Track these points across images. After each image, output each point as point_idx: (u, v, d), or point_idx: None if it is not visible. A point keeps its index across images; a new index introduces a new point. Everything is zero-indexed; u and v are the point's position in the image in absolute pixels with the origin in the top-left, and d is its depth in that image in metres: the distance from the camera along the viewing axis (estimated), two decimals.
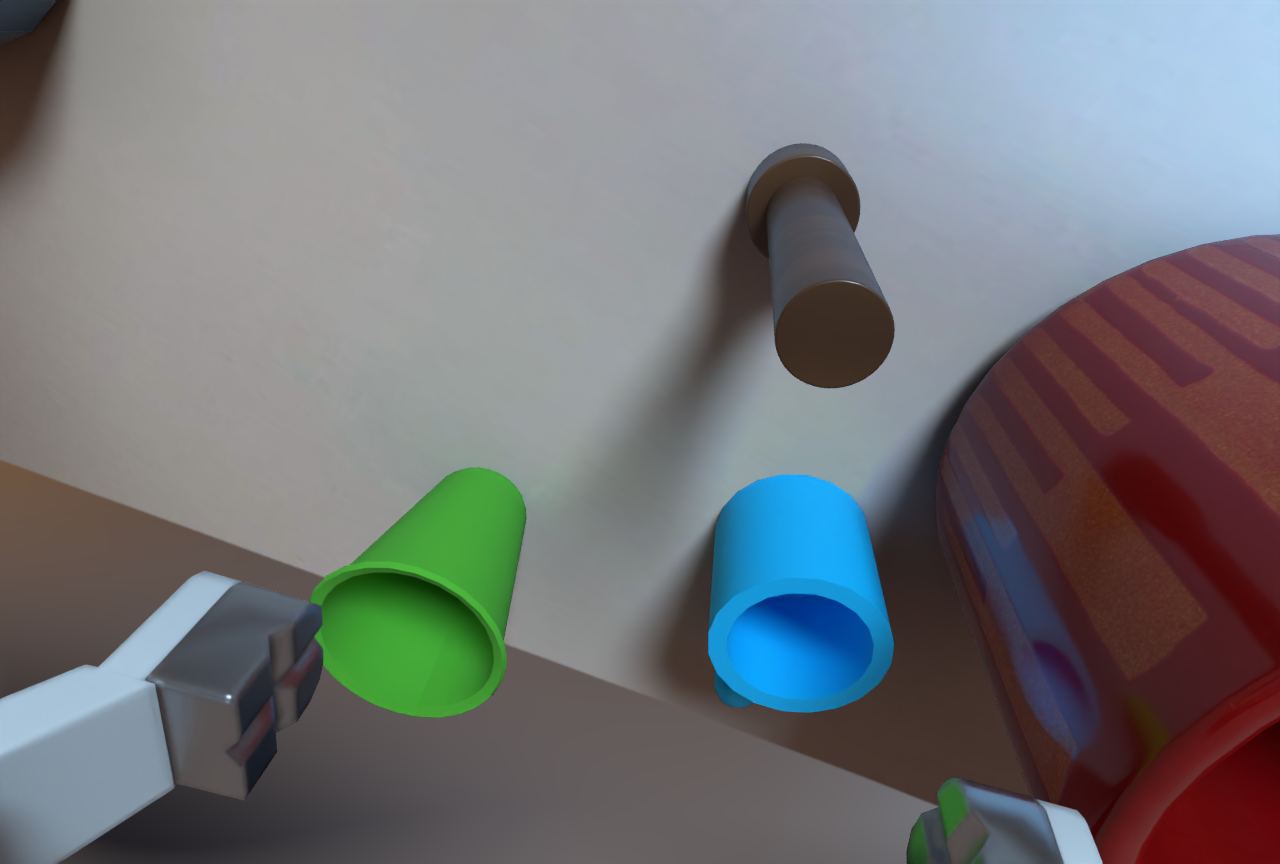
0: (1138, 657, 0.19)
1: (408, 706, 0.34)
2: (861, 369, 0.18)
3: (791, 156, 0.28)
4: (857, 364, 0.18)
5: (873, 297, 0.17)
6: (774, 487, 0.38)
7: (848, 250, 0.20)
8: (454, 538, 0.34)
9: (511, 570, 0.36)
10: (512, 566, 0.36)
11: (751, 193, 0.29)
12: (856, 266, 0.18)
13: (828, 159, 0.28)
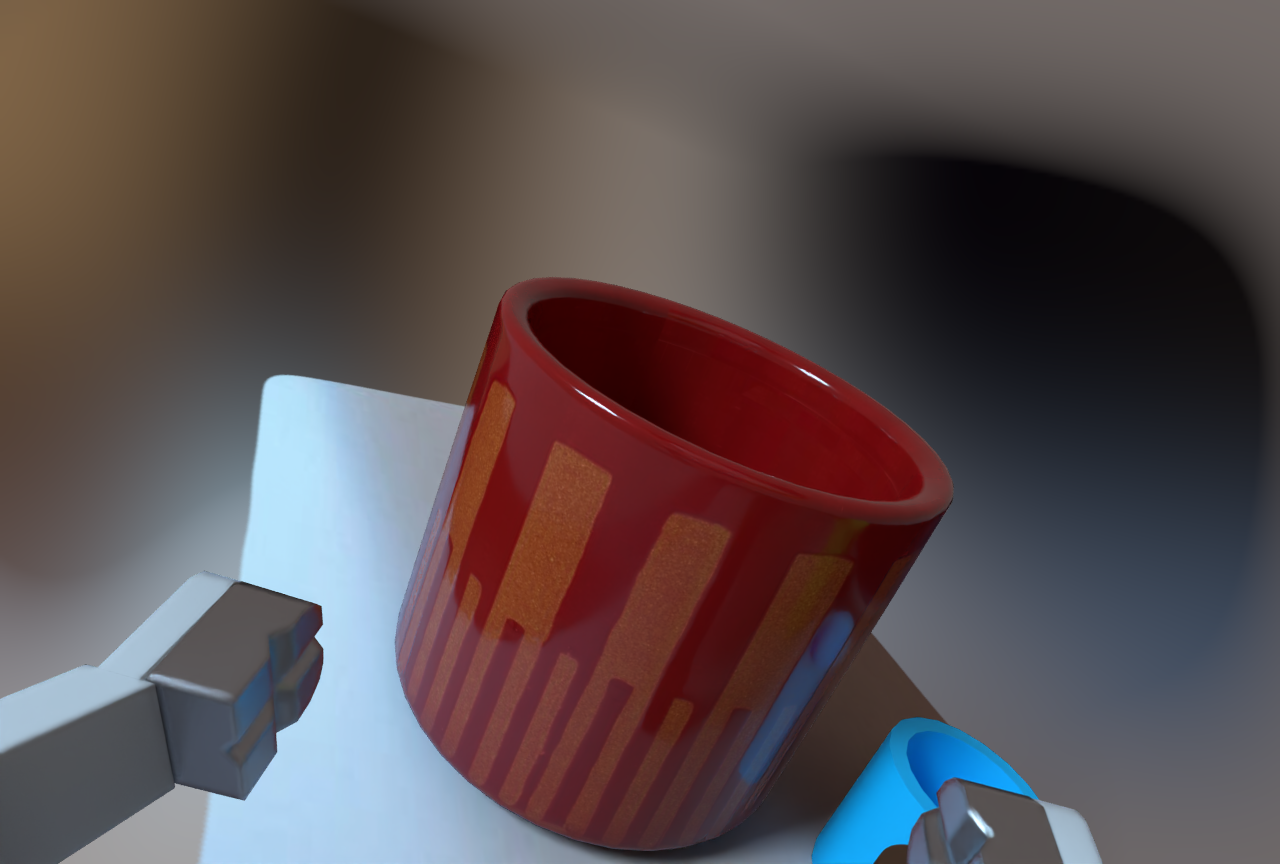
0: (838, 568, 0.28)
1: None
2: None
3: None
4: None
5: None
6: None
7: None
8: None
9: None
10: None
11: None
12: None
13: None
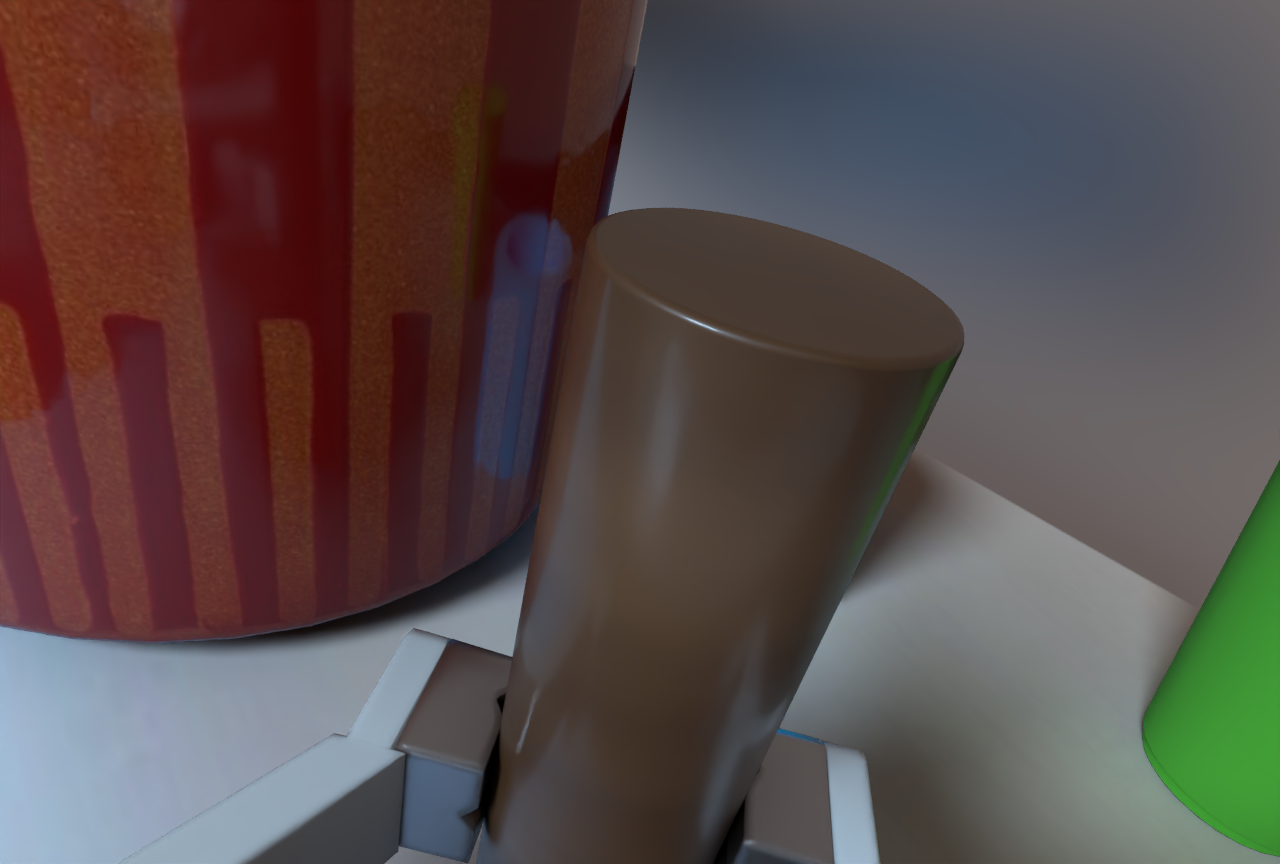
0: None
1: None
2: (718, 217, 0.06)
3: None
4: (725, 226, 0.06)
5: (626, 266, 0.05)
6: None
7: (570, 625, 0.06)
8: None
9: (1225, 609, 0.21)
10: (1219, 617, 0.21)
11: None
12: (598, 484, 0.05)
13: None
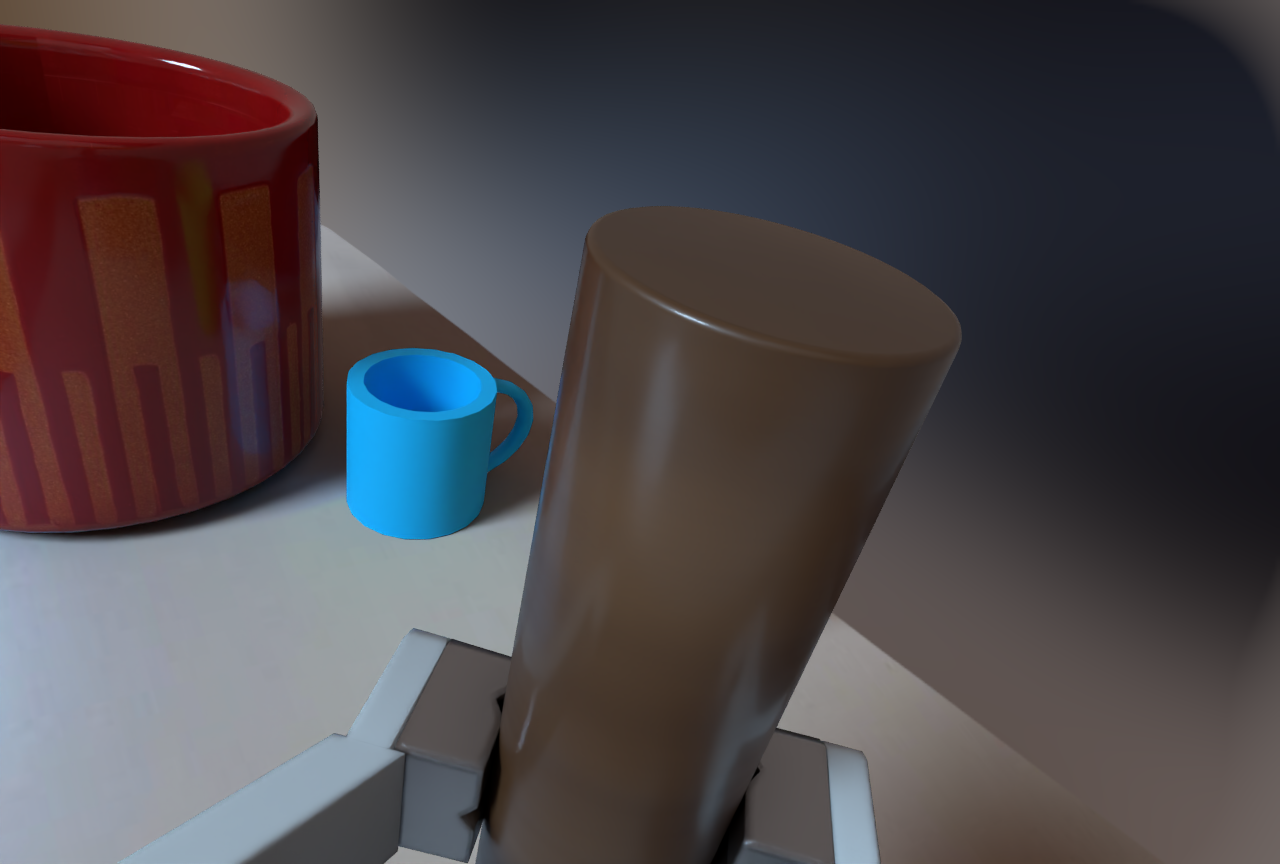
0: (139, 207, 0.31)
1: None
2: (716, 216, 0.06)
3: None
4: (723, 225, 0.06)
5: (626, 264, 0.05)
6: (390, 521, 0.42)
7: (569, 622, 0.06)
8: None
9: None
10: None
11: None
12: (596, 481, 0.05)
13: None
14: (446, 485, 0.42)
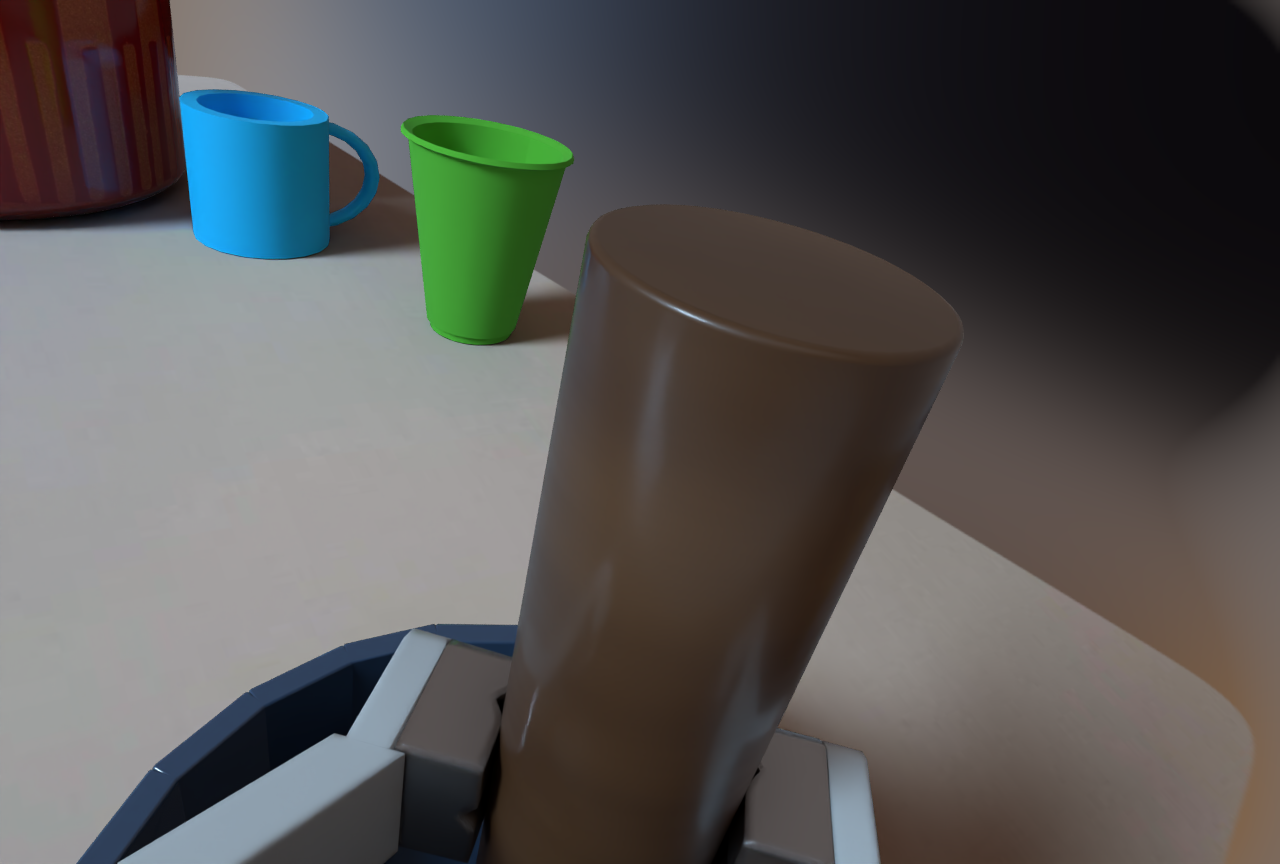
0: None
1: (537, 138, 0.43)
2: (718, 214, 0.06)
3: None
4: (724, 223, 0.06)
5: (627, 261, 0.05)
6: (227, 236, 0.46)
7: (570, 621, 0.06)
8: (422, 205, 0.39)
9: None
10: None
11: None
12: (598, 480, 0.05)
13: None
14: (276, 200, 0.45)
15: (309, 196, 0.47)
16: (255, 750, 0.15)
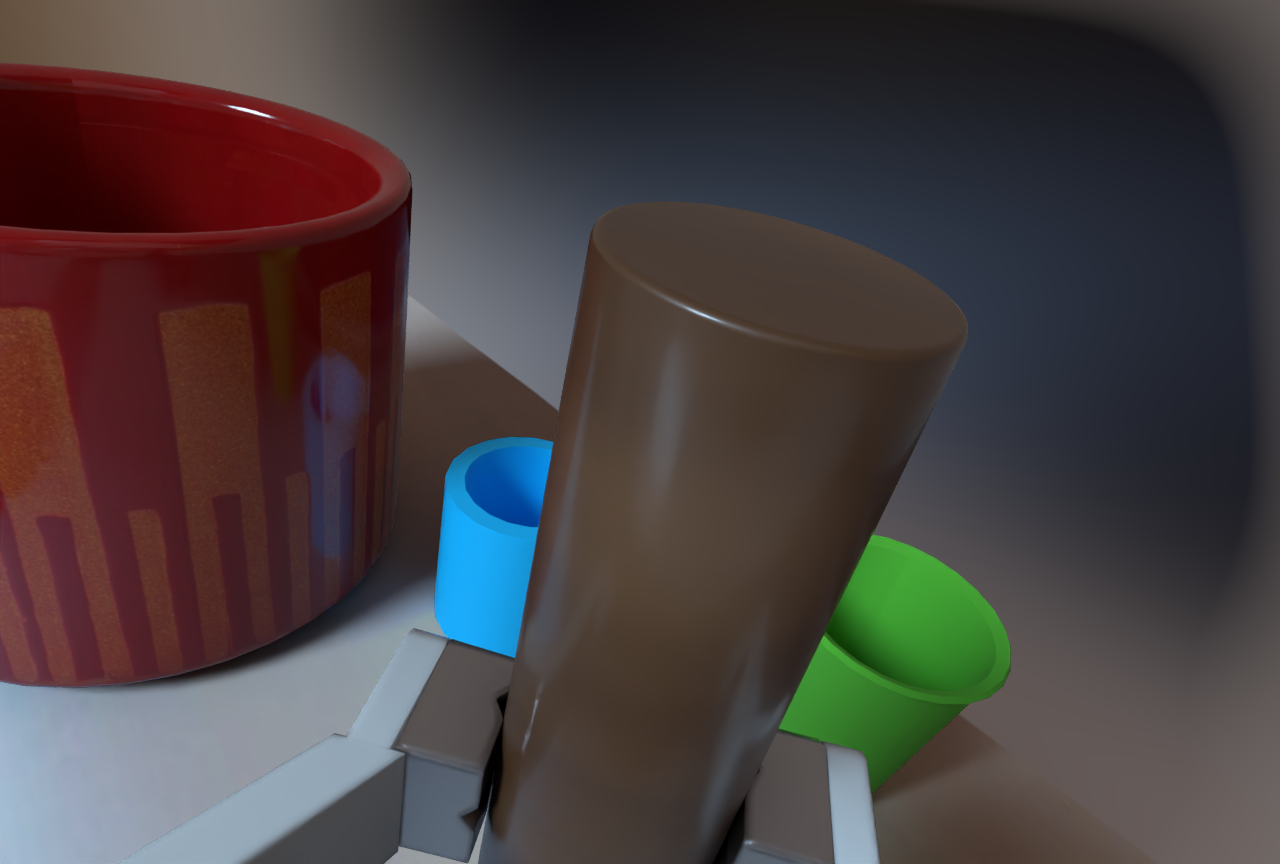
0: (230, 316, 0.25)
1: (919, 558, 0.33)
2: (721, 211, 0.06)
3: None
4: (728, 220, 0.06)
5: (632, 258, 0.05)
6: (492, 645, 0.36)
7: (574, 618, 0.06)
8: (818, 702, 0.29)
9: None
10: None
11: None
12: (602, 476, 0.05)
13: None
14: None
15: None
16: None
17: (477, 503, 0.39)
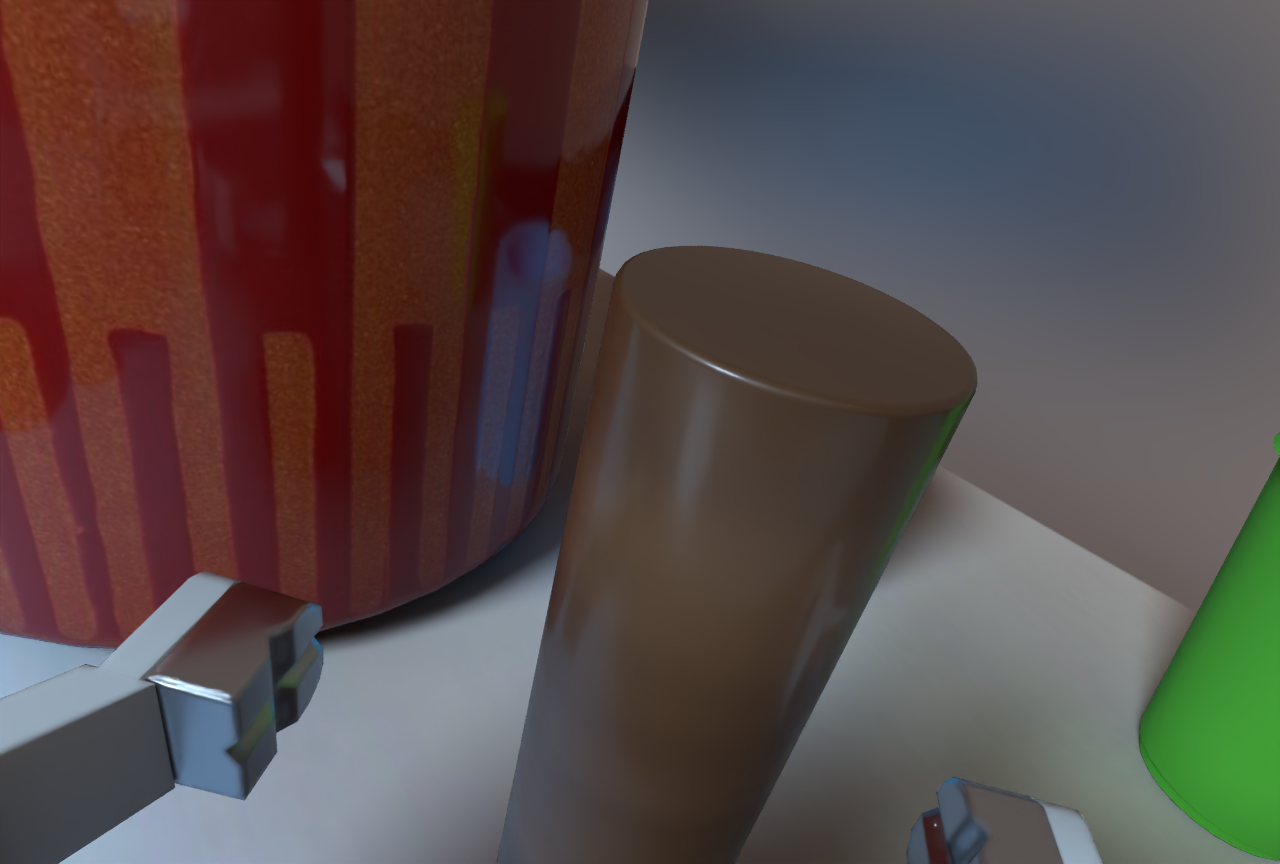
0: None
1: None
2: (737, 255, 0.07)
3: None
4: (744, 264, 0.06)
5: (654, 315, 0.05)
6: None
7: (595, 651, 0.06)
8: None
9: (1220, 615, 0.21)
10: (1215, 623, 0.21)
11: None
12: (624, 518, 0.05)
13: None
14: None
15: None
16: None
17: None
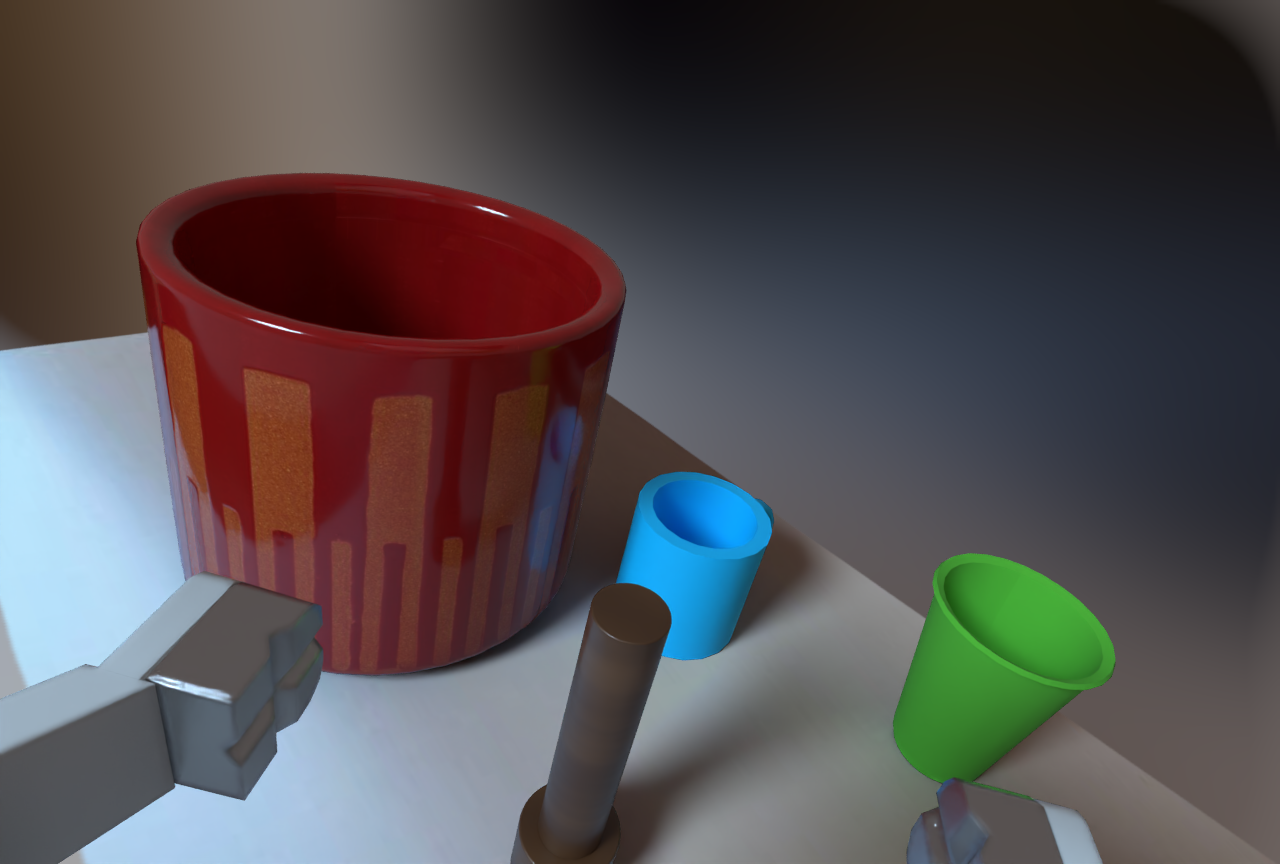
0: (536, 394, 0.33)
1: (1029, 575, 0.41)
2: (622, 587, 0.26)
3: None
4: (623, 591, 0.26)
5: (598, 620, 0.24)
6: (672, 644, 0.44)
7: (586, 687, 0.26)
8: (961, 690, 0.37)
9: (916, 655, 0.41)
10: (915, 659, 0.41)
11: None
12: (593, 659, 0.25)
13: (530, 859, 0.30)
14: (728, 611, 0.44)
15: None
16: None
17: None
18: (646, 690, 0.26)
